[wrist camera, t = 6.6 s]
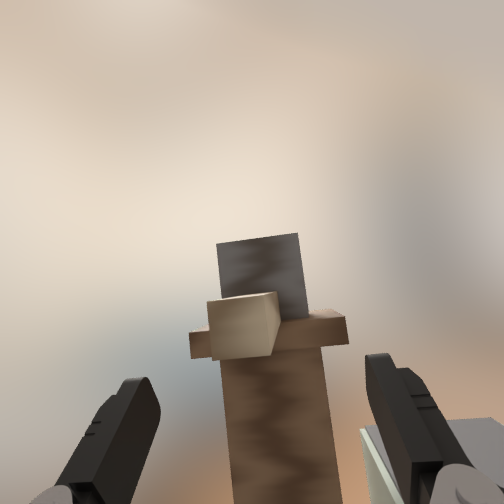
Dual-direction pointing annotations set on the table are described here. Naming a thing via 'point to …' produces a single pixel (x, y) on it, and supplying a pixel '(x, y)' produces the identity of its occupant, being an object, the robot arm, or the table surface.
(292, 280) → the hammer
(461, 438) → the sage cabinet
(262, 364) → the wooden t-shaped stand
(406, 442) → the robot arm
